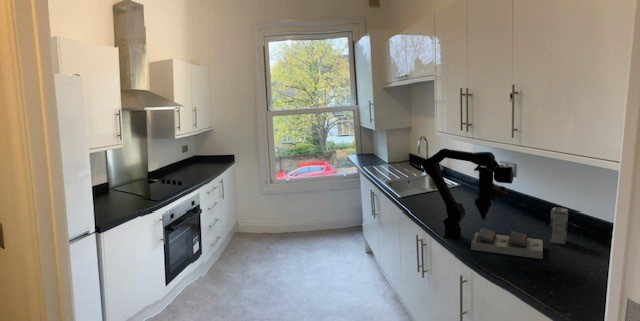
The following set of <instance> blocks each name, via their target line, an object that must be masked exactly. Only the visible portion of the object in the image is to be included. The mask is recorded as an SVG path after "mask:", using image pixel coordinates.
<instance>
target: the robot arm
mask: <svg viewBox="0 0 640 321" xmlns="http://www.w3.org/2000/svg"><path fill="white" fill-rule="evenodd" d="M445 159H451V160H457V161H462V162H463V161H464V162H468V163H469V162H470V163H472V164H475V165H477V166H476V167H474V168H473V171H475V172H478V183H477V187H478V193H477V197H476V198H475V199H474V205H475V206H476V208H477V210H478V212H479V215H480V217H481V219H482V220H486V218H487V215H488V214H489V210H490V208H491V206H492V203H493V201H494V200H495V198H498V199H500V200H502V201H505V200H506V197H507V195H508V193H509V192H508V191H507V190H506V187H505V186H503V185H501V186H500V187H496V186H495V183H494V181H495V182H496V183H499V184H501V183H502V184H510V185H511V184H513V182H514V172H513V167H512V166H500V164H499V162H498V161H497V160H496V158H495V155H494V153H493V152H491V151H479V152H478V151H477V152H471V151H463V150H455V149H448V148H446V147H445V148H442V149H439V150H438V152H436V153H435V154H433V155H432V156H429V157H427V158H426V159H423V160H422V161H421V162H422V163H421V167H422V169H423V171H424V172H425V173H426V174H427V175H428V176H429V177H430V178H431V179H432V182H433V183H434V185H435V187H436V189H437V190H438V193H439V195H440V197H441V198H442V201H443V203H444V204H445V212H446V214H447V215H446V216H447V217H446V218H445V219H444V220H442V222H443V226H444V236H443V238H444V239H452V240H459V239H460V238H461V237H462V226H461V222H462V221H463V220H464V219H465V216H466V209H465V207H464V206H463V203H462V202H460V203H458V202H457V201H456V200H455V198H454V196H453V194H452V192H451V191H450V188H449V186H448V184H447V183H446V180H445V179H444V177H443V175H442V172H441V171H442V170H441V165H440V163H441V162H443V161H444V160H445Z"/></svg>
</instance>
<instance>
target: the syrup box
mask: <svg viewBox="0 0 640 321" xmlns="http://www.w3.org/2000/svg"><path fill="white" fill-rule="evenodd" d="M568 218H569V209H568V208H565V207H559V206H558V207H555V206H554V207H553V208H552V209H551V210H550V220H549V222H550V223H549V237H548V238H549V241H548V242H549V243H551V244H558V245H565V244H566V243H567V236H568Z"/></svg>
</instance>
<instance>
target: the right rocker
mask: <svg viewBox="0 0 640 321" xmlns="http://www.w3.org/2000/svg"><path fill="white" fill-rule="evenodd" d="M509 236H510V237H509V242H511V243H515V244H519V245H523V246H525V244H526V238H527V234H525V233H522V232H521V233H520V232H517V231H513V230H511V231H510V234H509Z"/></svg>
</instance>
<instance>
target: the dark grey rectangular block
mask: <svg viewBox="0 0 640 321" xmlns="http://www.w3.org/2000/svg"><path fill="white" fill-rule="evenodd" d="M477 233H478V235H477V238H479V239H483V240H486V241H489V242H492V241H493V238H494V235H496V234H495V233H496V231H494V230H492V229H487V228H485V227H480V229H479V231H478V232H477Z"/></svg>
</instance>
